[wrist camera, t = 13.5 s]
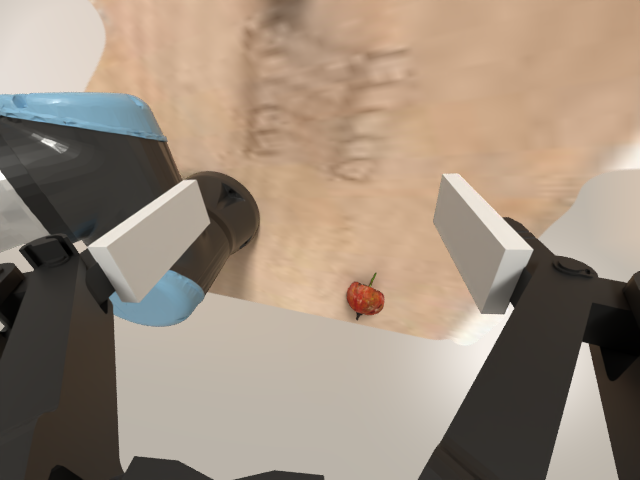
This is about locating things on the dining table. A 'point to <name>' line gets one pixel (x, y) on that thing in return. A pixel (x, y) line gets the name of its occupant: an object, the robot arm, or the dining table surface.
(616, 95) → the dining table surface
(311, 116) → the dining table surface
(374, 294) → the red fruit with stem
